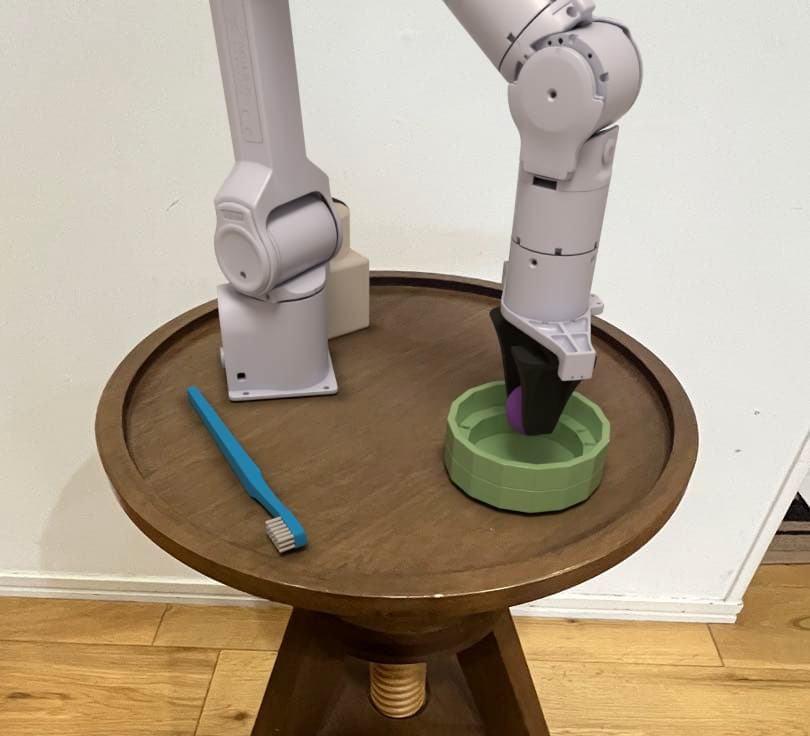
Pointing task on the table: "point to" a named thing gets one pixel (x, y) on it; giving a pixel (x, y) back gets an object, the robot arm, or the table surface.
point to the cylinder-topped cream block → (347, 285)
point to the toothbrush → (250, 478)
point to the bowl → (524, 452)
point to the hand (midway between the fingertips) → (529, 416)
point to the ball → (515, 411)
